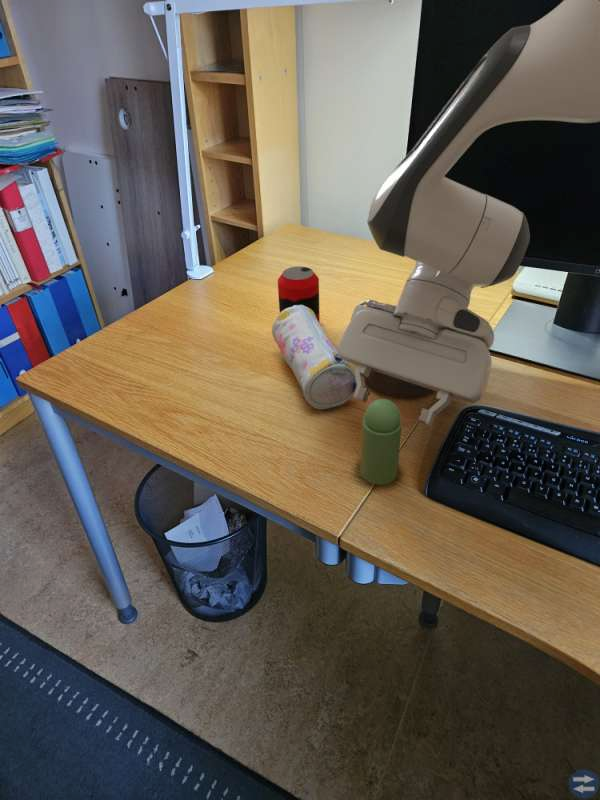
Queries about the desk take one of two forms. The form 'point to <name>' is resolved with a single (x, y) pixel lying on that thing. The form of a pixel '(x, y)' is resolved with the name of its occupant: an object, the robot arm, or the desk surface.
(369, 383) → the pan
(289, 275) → the soda can
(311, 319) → the pencil case
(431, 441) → the desk surface
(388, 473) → the green dome-topped cylinder
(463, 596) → the desk surface
